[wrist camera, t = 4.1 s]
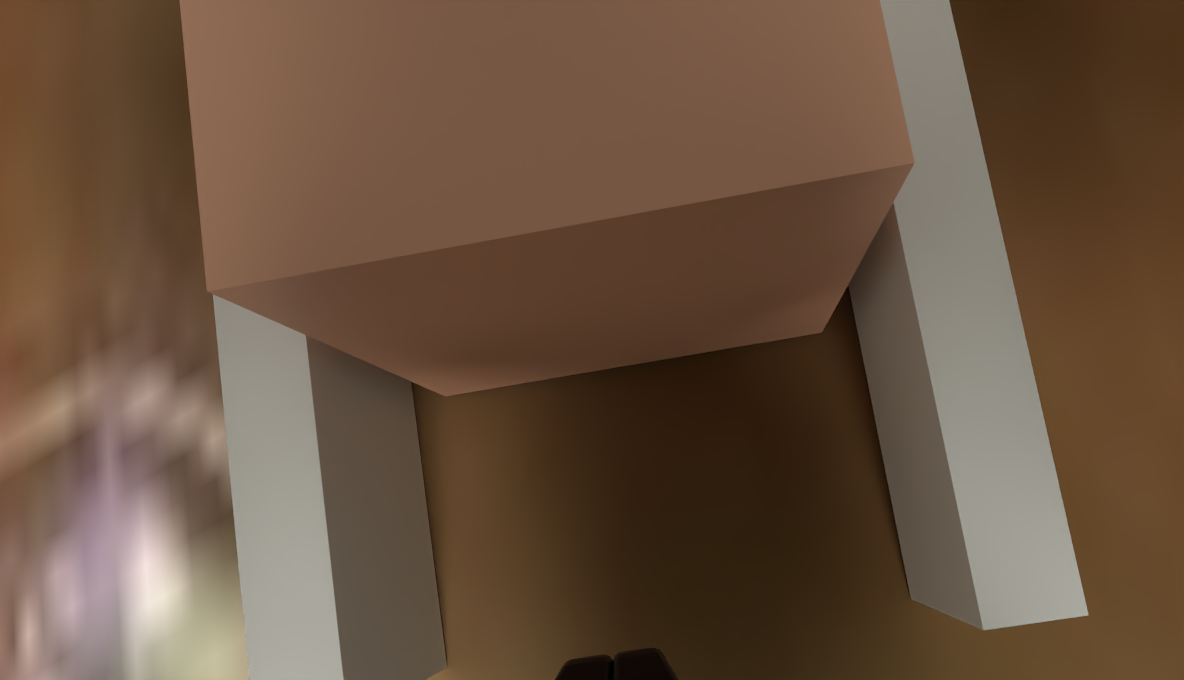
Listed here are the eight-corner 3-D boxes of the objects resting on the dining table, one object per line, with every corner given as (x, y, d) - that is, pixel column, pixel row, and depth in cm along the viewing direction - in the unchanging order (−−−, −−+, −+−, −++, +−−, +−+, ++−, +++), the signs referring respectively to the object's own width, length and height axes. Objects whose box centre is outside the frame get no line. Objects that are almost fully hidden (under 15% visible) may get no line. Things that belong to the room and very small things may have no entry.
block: (821, 332, 18) (914, 162, 10) (445, 396, 19) (206, 292, 10) (748, -49, 20) (770, -510, 11) (395, 22, 20) (145, -361, 11)
